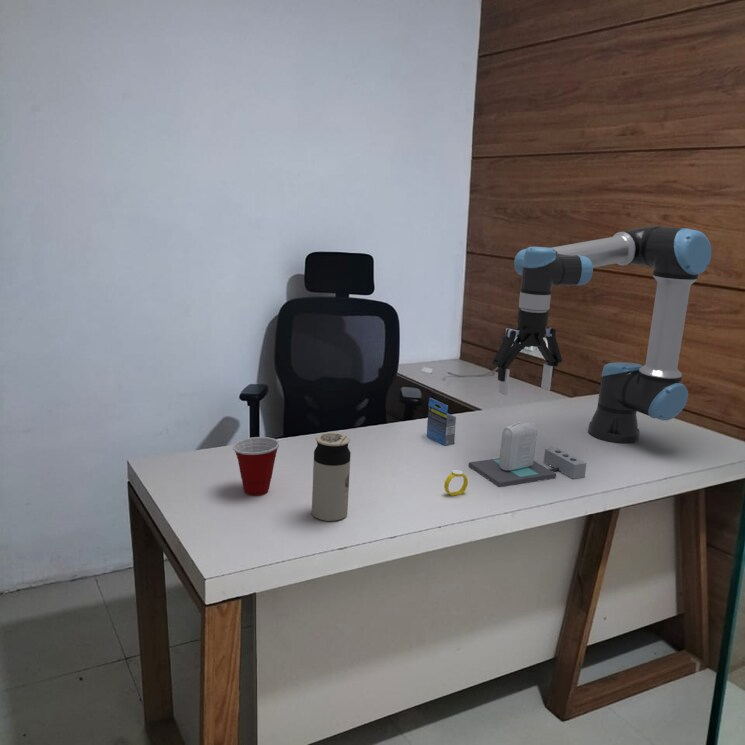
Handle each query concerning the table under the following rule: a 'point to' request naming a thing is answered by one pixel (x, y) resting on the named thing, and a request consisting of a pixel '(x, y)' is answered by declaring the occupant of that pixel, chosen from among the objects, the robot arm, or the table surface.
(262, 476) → the plastic cup
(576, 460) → the power strip
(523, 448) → the photo printer
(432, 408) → the label tape box
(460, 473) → the watch
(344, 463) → the travel mug
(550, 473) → the pad
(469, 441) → the table surface
